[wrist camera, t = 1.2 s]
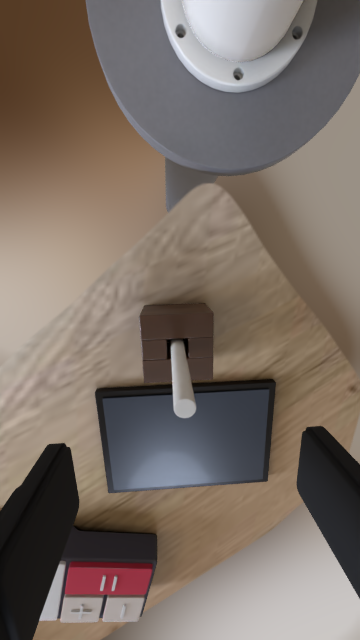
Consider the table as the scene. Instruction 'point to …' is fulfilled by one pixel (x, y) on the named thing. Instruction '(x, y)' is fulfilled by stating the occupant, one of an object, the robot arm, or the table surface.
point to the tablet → (186, 435)
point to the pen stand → (175, 324)
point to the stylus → (181, 381)
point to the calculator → (102, 577)
